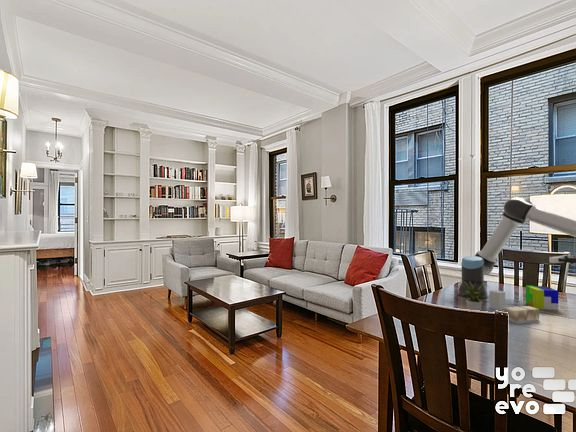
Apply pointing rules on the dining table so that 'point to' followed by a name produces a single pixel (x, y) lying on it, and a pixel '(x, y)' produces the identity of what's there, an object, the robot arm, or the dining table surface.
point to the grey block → (497, 299)
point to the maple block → (522, 313)
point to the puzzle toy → (542, 297)
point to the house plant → (473, 297)
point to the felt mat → (525, 321)
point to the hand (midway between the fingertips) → (550, 260)
